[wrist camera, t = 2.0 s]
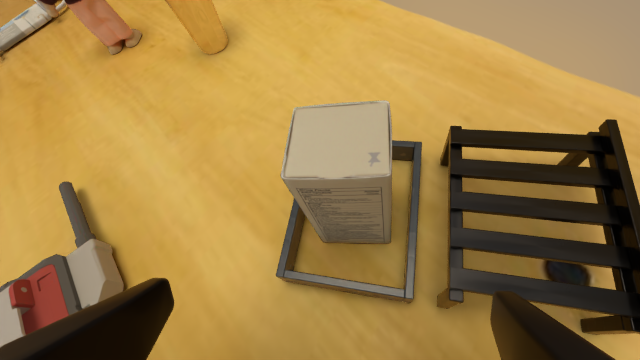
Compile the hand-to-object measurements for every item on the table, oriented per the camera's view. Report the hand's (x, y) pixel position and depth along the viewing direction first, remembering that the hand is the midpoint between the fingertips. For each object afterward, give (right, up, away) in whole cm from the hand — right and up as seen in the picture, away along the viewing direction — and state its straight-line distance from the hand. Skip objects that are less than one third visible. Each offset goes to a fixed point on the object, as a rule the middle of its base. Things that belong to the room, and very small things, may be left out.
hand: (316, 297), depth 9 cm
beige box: (+3, 0, +15) cm, 15 cm away
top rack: (+13, 0, +12) cm, 18 cm away
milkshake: (-12, +19, +27) cm, 35 cm away
